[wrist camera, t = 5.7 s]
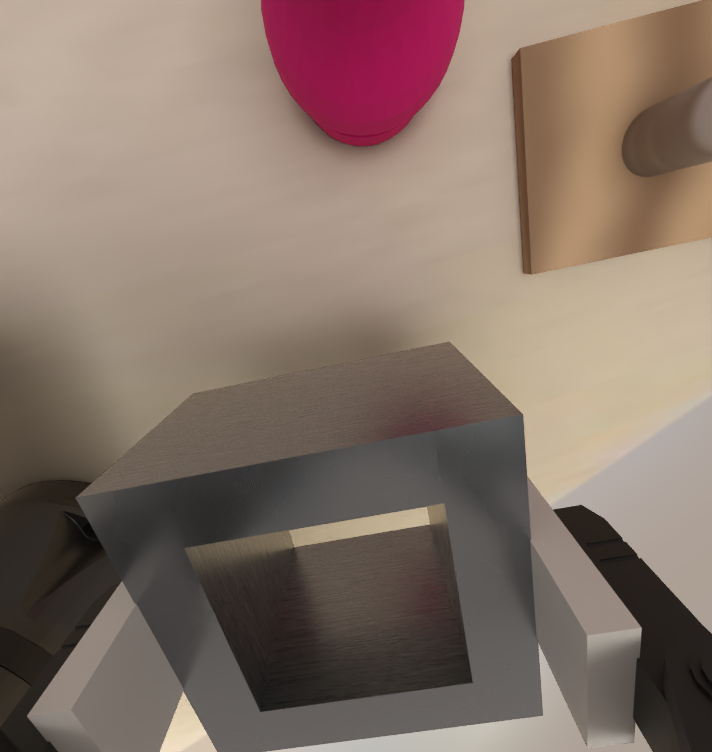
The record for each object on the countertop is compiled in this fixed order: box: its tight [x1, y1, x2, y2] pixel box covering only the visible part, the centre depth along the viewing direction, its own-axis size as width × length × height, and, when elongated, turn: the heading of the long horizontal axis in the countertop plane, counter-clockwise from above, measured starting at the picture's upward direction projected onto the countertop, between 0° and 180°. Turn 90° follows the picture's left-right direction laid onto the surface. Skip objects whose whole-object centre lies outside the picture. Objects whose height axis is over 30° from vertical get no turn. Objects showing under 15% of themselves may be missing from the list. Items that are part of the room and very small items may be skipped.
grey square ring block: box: [76, 342, 543, 752], centre depth 10 cm, size 8×8×5 cm
